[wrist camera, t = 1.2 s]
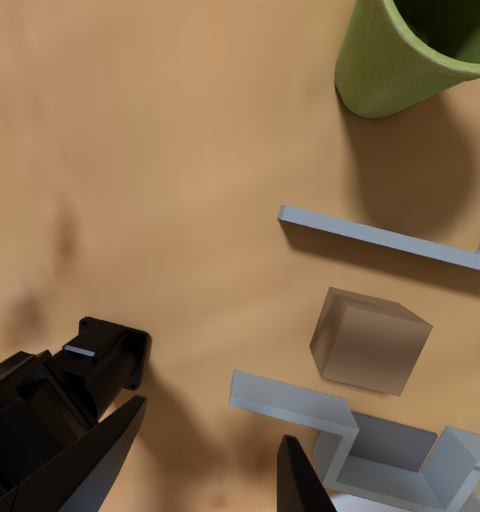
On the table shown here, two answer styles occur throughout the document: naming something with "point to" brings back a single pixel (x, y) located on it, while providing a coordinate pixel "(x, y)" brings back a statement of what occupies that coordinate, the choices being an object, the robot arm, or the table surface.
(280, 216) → the grey zigzag track
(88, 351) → the robot arm
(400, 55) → the plant pot
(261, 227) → the table surface
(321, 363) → the block
